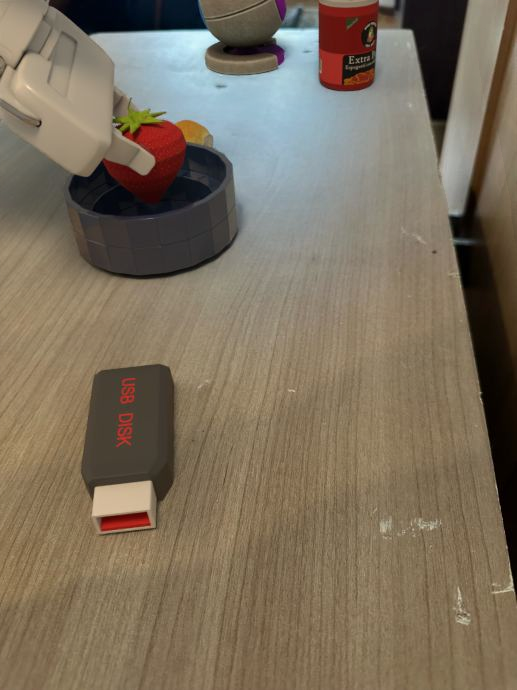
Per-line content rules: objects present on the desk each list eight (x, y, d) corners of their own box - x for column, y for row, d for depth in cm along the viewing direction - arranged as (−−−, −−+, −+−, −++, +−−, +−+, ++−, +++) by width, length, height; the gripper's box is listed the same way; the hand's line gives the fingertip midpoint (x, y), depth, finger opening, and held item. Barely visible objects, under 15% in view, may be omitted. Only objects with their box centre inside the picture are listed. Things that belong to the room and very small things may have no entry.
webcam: (289, 72, 94) (285, -47, 84) (202, 77, 94) (188, -40, 85) (287, 45, 104) (283, -64, 94) (208, 50, 104) (196, -58, 94)
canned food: (348, 96, 85) (351, 5, 78) (306, 82, 90) (305, -5, 83) (386, 80, 89) (392, -9, 82) (344, 68, 94) (346, -17, 87)
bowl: (93, 298, 54) (76, 236, 50) (68, 216, 65) (52, 160, 61) (261, 254, 58) (257, 193, 54) (210, 183, 69) (203, 129, 65)
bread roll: (150, 140, 78) (144, 107, 76) (220, 144, 76) (216, 110, 74) (122, 171, 72) (115, 136, 70) (198, 175, 70) (193, 140, 68)
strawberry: (199, 212, 58) (183, 99, 51) (114, 226, 57) (88, 113, 50) (189, 183, 62) (173, 76, 56) (110, 196, 61) (85, 88, 55)
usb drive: (173, 382, 46) (167, 354, 44) (173, 528, 37) (165, 499, 35) (100, 391, 46) (91, 362, 44) (82, 538, 37) (70, 510, 35)
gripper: (-1, 45, 40) (179, 172, 47) (34, -24, 55) (165, 80, 62) (-48, 124, 42) (129, 234, 49) (-3, 38, 58) (128, 130, 65)
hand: (149, 147), depth 56 cm, fingers closed on strawberry, 6 cm apart
